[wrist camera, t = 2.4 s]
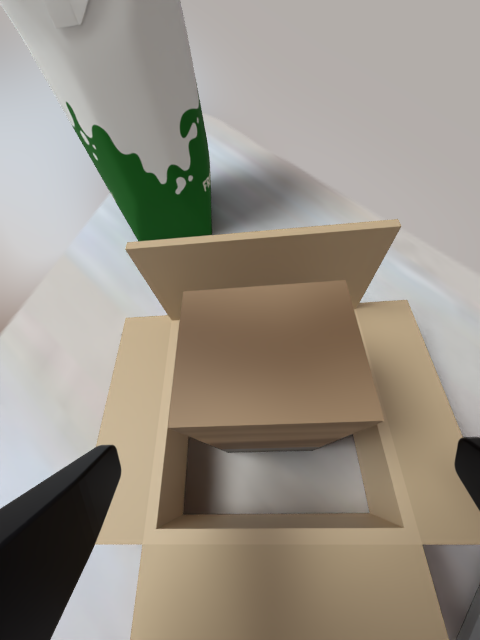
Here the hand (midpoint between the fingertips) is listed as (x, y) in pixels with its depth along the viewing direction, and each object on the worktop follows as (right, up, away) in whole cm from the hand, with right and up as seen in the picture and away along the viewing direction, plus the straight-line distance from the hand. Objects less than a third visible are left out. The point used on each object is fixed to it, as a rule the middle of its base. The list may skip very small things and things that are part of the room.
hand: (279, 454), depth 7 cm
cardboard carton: (+1, -4, +9) cm, 10 cm away
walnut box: (+1, -3, +10) cm, 10 cm away
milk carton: (-8, +14, +20) cm, 26 cm away
